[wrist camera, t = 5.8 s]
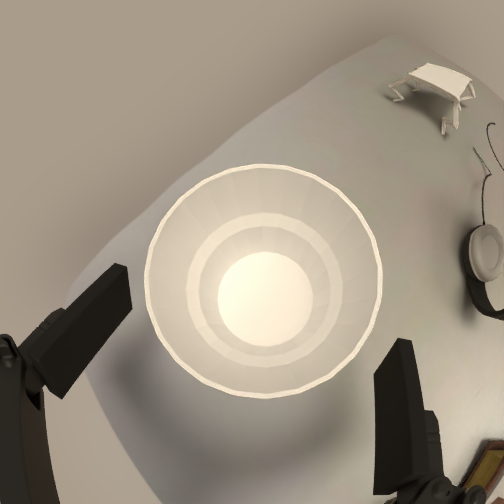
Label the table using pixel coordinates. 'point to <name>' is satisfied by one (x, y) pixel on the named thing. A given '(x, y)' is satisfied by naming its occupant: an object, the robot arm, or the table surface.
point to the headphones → (483, 261)
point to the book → (490, 473)
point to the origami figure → (440, 86)
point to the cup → (263, 281)
